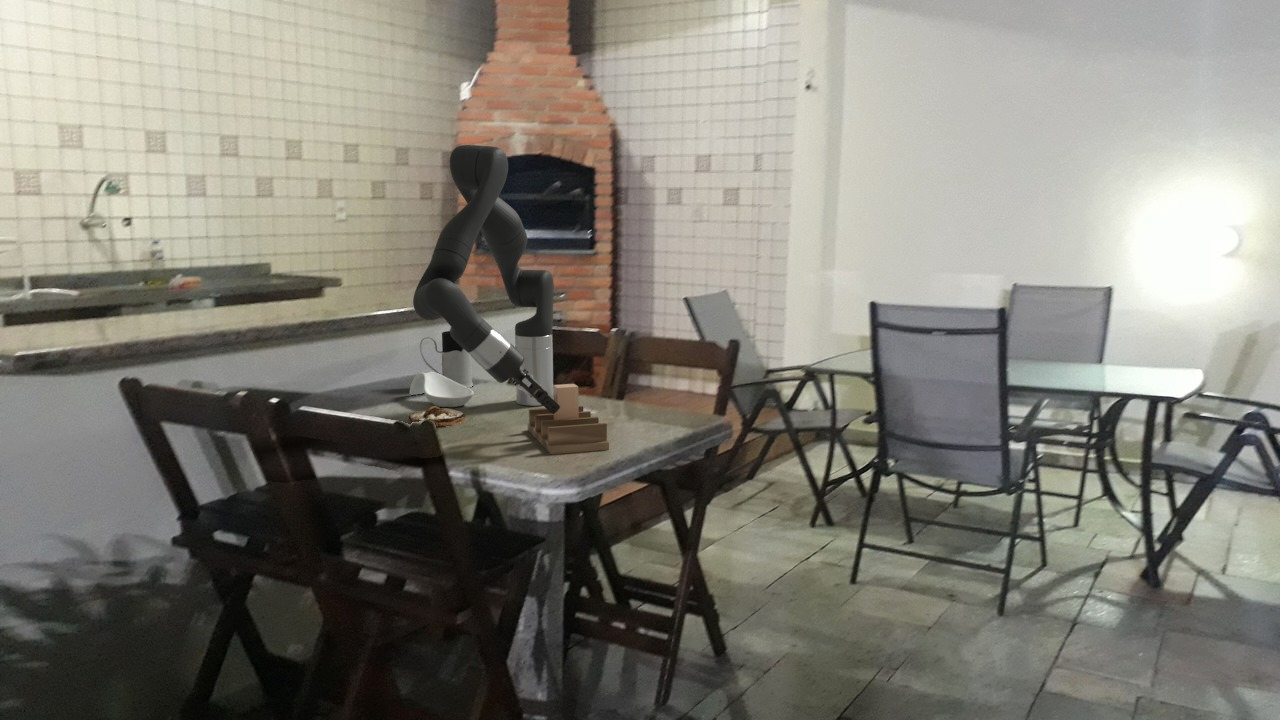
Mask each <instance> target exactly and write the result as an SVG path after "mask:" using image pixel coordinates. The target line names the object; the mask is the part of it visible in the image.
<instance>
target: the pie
mask: <svg viewBox="0 0 1280 720" xmlns="http://www.w3.org/2000/svg"><path fill="white" fill-rule="evenodd" d="M424 419H429V420H431V421H433V422H434V423H435V425H436V427H437V428H438V427H441V428H442V427H443V428H447V427H446V426H450V427H453V426H452V425H454V426H457V425H459V424H458V423H460V424H462V423H463V421H464V420H465V419H466V415H465V413H463V412H462V411H460V410H456V409H454V408H440V407H437V406H435V405H432V406H430V407H429V408H427V409H425V410H416V411H414V412H413V411H412V412H410V413H409V415H408V421H409V424H410V423H412V422H419V421H422V420H424ZM456 424H457V425H456ZM438 429H439V428H438Z"/></svg>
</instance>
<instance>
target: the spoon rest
mask: <svg viewBox="0 0 1280 720" xmlns="http://www.w3.org/2000/svg"><path fill="white" fill-rule="evenodd" d="M439 373H440V372H439ZM439 373H436V372H435V371H428V372H423V371H422V372H418V373H417V374H415V376H414V378H413V379H412V381H411V383H410V387H409V395H410V394H411V395H413V394H422V393H425V394H424V395H425V397H426V399H427V400H428V402H430V404H432V405H433V406H436V407H437V406H438V407H439V408H440V407H453V408H459V407H461V406H463V405H466V404H467V403H468V402H469V401H470V400H471V399H472V398H473V396H474V395H475V394H474V390H472V389H471V388H467V387H465V386H463V385H461V384H459V383H457V382H455V381H453V380H451V379H449V378H447V377H445V376H443V374H441V373H440V374H439ZM411 395H410V396H411ZM458 406H459V407H458Z"/></svg>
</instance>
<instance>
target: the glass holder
mask: <svg viewBox="0 0 1280 720" xmlns="http://www.w3.org/2000/svg"><path fill="white" fill-rule="evenodd" d="M427 339H430V340H432V341H433V343H434V349H435V351H436V353H439V354H441V365H442V366H441V367H442V368H441V369H442V372H441V373H442V375H443V376H445V377H447V378H449V379H451V380H453V381H455V382H457V383H459V384H461V385H463V386H465V387H472V386H473V385H474V383H473V374H472V373H473V371H472V369H473V368H472V357H471V355H470V354H469V353H468V352H467V351H466V350H464V349H463V348H462V347H461V346H460V345H459V344H458V343H457V342H456V341H455V340H454V339H453V338H452V337H451V335H450V330H448V331H447V330H446V331H443V332H441V344H442V345H441V348H442V351H439V350H438V348H437V342H436V340H435V339H434V338H433V337H431V336H426V337H424V338H422V339H421V341H420V343H419V350H420V355H421V357H422V359H423V362H424V363H425V365H426V366H427V367H429V368H430V370H432V371H433V372H436V373H439V374H441V373H440V372H439V371H438V370H437V369H435V368H434V367H433V366H431V365H430V363H428V362H427V361H428V360H426V358H425V355H424V354H423V348H422V345H423V344H422V343H423V341H424V340H427ZM472 388H473V387H472Z"/></svg>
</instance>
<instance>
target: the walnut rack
mask: <svg viewBox="0 0 1280 720" xmlns="http://www.w3.org/2000/svg"><path fill="white" fill-rule="evenodd" d="M591 414H592V411H590V410H585V411H584V405H579V418H573V419H559V420H554V414H552V413H551V412H550V411H549V410H548V409H547V408H545V407H543V408H530V409H528V423H527V431H528V432H529V433H530V434H531V435H532V436H533V437H534V439H535V440H536V441H537V442H538V443H540V445H541V446H542V447H543V448H544V449H545V450H546V451H547V452H548V453H549V454H550V455H558V454H573V453H582V452H583V453H585V452H586V453H587V452H595V451H607V450H608V451H609V450H610V442H609V441H608V429H607V427H608V424H607V423H606V422H599V417H598V416H592V415H591Z"/></svg>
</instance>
